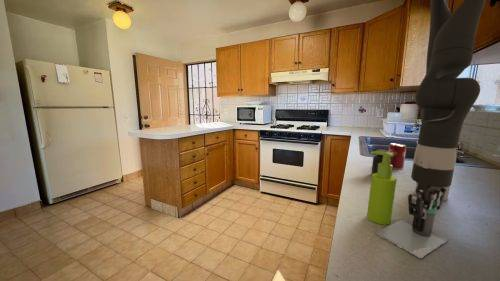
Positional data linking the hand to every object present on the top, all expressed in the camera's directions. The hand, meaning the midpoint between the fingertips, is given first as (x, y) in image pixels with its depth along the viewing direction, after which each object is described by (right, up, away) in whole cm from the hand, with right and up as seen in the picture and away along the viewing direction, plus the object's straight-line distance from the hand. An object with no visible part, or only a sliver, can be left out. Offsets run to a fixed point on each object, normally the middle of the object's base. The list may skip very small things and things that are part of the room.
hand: (421, 227), depth 54 cm
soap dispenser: (-7, -1, +8) cm, 11 cm away
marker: (0, -1, 0) cm, 1 cm away
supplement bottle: (+16, +6, +43) cm, 46 cm away
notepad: (-4, -2, -1) cm, 4 cm away
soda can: (+32, +8, +56) cm, 65 cm away
